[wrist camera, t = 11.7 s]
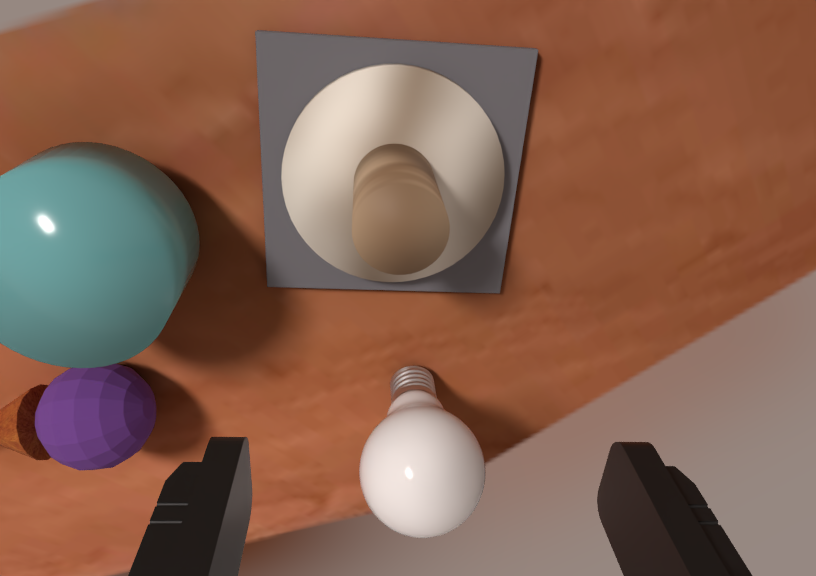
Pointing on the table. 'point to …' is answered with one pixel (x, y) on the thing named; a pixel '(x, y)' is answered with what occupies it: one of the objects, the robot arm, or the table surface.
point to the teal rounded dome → (90, 254)
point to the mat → (338, 55)
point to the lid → (392, 173)
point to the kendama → (82, 418)
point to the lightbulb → (421, 461)
